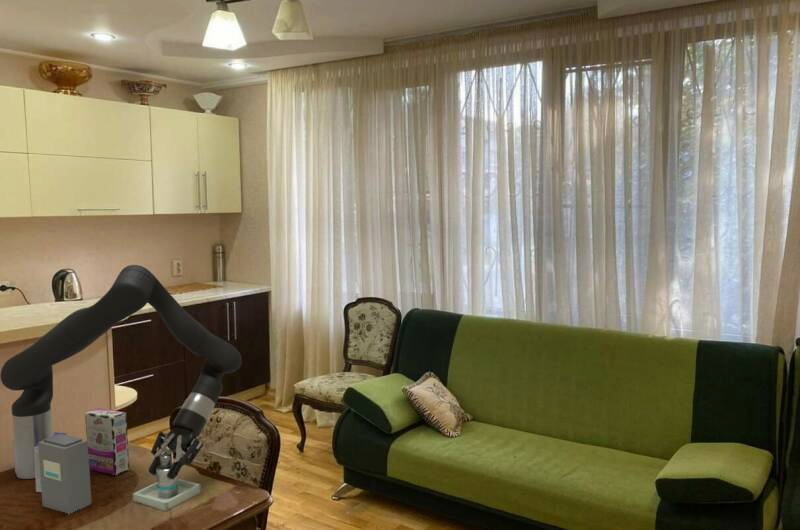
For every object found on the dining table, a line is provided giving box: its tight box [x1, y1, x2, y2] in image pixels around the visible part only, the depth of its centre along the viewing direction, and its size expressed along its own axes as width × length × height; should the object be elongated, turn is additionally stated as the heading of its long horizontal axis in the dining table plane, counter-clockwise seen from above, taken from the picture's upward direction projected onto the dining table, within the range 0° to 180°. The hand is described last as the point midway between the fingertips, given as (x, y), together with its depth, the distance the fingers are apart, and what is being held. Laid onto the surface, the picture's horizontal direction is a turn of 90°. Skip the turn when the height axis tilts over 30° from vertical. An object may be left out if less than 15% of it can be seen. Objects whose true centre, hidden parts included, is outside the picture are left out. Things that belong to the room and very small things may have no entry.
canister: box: [156, 453, 179, 499], centre depth 161 cm, size 5×5×10 cm
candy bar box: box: [84, 408, 130, 477], centre depth 179 cm, size 11×5×16 cm, turn 64°
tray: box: [132, 478, 202, 512], centre depth 162 cm, size 11×11×2 cm
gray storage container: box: [38, 434, 92, 515], centre depth 158 cm, size 10×6×17 cm, turn 62°
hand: (160, 475), depth 160 cm, fingers open, 5 cm apart
